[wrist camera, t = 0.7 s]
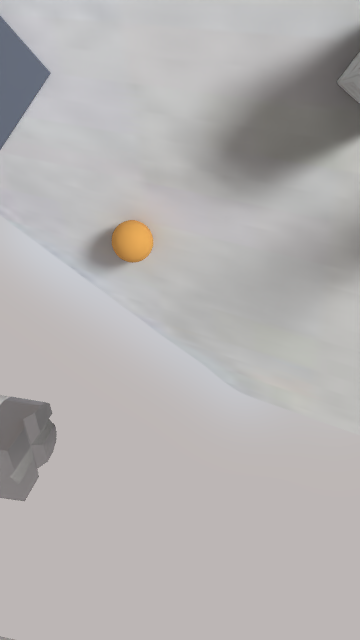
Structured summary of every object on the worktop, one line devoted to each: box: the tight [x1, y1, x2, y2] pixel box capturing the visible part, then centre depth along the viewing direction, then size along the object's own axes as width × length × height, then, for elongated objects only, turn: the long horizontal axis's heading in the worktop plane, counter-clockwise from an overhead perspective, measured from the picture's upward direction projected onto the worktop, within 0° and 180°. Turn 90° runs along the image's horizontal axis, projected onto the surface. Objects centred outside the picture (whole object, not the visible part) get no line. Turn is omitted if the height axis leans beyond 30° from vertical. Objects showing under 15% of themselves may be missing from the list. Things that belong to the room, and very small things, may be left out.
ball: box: [112, 220, 153, 262], centre depth 46 cm, size 6×6×6 cm
